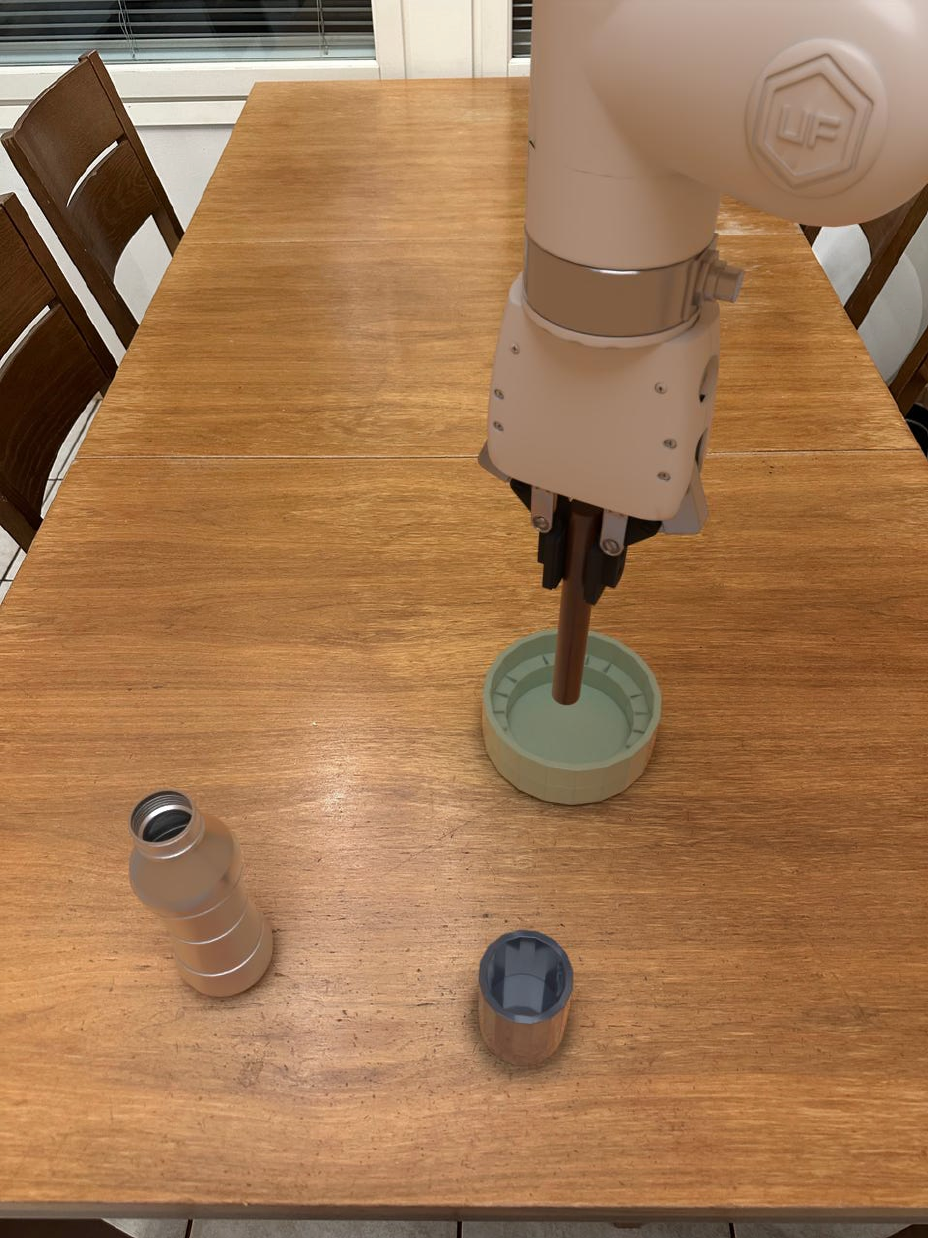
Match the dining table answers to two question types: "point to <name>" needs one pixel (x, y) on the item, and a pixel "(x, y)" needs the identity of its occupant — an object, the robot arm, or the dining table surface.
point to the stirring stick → (574, 602)
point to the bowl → (570, 720)
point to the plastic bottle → (198, 893)
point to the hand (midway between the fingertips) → (578, 578)
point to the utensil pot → (524, 996)
